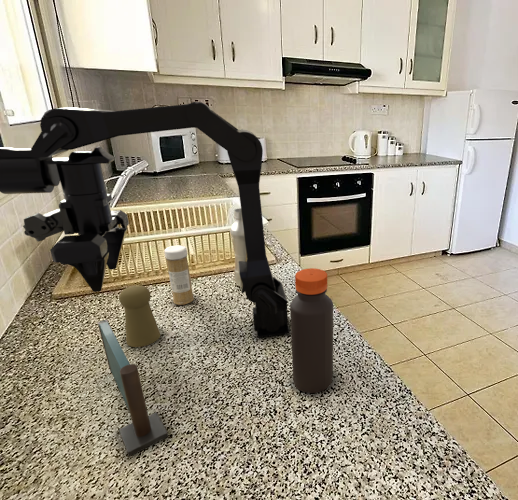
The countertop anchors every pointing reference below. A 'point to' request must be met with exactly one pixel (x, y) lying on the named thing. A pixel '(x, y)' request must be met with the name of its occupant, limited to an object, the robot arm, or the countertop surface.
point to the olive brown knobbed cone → (139, 316)
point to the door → (113, 354)
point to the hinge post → (139, 415)
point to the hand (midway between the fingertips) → (105, 279)
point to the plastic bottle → (238, 243)
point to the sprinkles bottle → (179, 274)
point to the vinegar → (312, 332)
